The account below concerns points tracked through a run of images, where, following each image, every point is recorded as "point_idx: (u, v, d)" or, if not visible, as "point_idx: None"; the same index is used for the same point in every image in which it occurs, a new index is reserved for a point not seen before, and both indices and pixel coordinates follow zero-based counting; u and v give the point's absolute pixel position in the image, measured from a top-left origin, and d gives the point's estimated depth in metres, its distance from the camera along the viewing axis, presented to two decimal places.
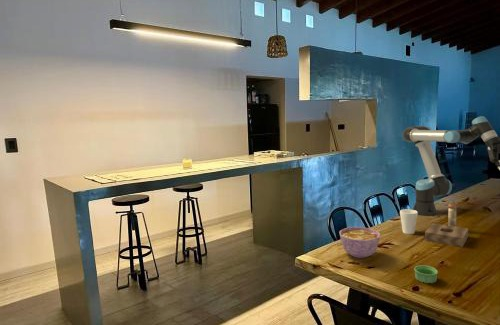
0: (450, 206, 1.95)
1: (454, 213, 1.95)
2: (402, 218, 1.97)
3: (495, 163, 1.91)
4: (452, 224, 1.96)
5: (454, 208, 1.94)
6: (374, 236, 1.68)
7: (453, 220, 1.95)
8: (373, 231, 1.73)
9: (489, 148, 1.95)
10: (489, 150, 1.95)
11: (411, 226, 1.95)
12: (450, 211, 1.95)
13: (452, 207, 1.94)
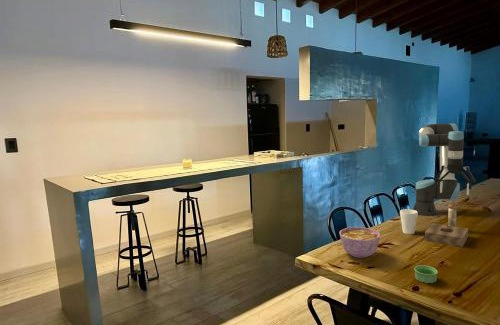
0: (450, 206, 1.95)
1: (454, 213, 1.95)
2: (402, 218, 1.97)
3: None
4: (452, 224, 1.96)
5: (454, 208, 1.94)
6: (374, 236, 1.68)
7: (453, 220, 1.95)
8: (373, 231, 1.73)
9: (441, 167, 1.97)
10: (441, 169, 1.98)
11: (411, 226, 1.95)
12: (450, 211, 1.95)
13: (452, 207, 1.94)
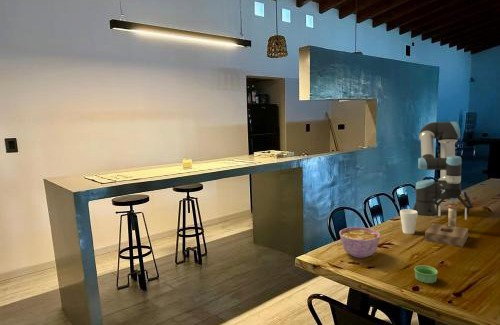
0: (450, 206, 1.95)
1: (454, 213, 1.95)
2: (402, 218, 1.97)
3: None
4: (452, 224, 1.96)
5: (454, 208, 1.94)
6: (374, 236, 1.68)
7: (453, 220, 1.95)
8: (373, 231, 1.73)
9: None
10: (439, 193, 2.00)
11: (411, 226, 1.95)
12: (450, 211, 1.95)
13: (452, 207, 1.94)
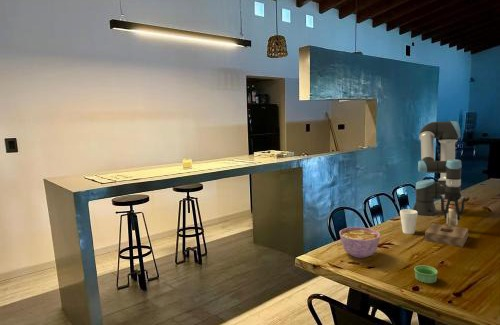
0: (450, 206, 1.95)
1: (454, 213, 1.95)
2: (402, 218, 1.97)
3: (445, 213, 2.00)
4: (452, 224, 1.96)
5: (454, 208, 1.94)
6: (374, 236, 1.68)
7: (453, 220, 1.95)
8: (373, 231, 1.73)
9: None
10: None
11: (411, 226, 1.95)
12: (450, 211, 1.95)
13: (452, 207, 1.94)
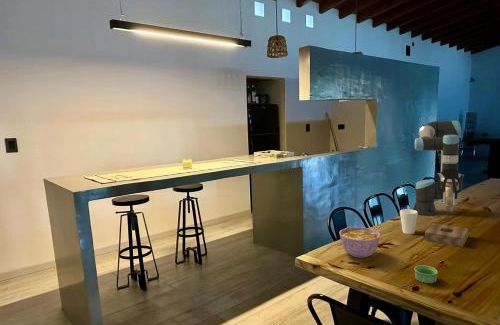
0: (447, 184, 1.84)
1: (451, 192, 1.83)
2: (402, 218, 1.97)
3: None
4: (449, 203, 1.84)
5: (451, 186, 1.83)
6: (374, 236, 1.68)
7: (450, 199, 1.84)
8: (373, 231, 1.73)
9: None
10: None
11: (411, 226, 1.95)
12: (447, 190, 1.84)
13: (449, 185, 1.83)
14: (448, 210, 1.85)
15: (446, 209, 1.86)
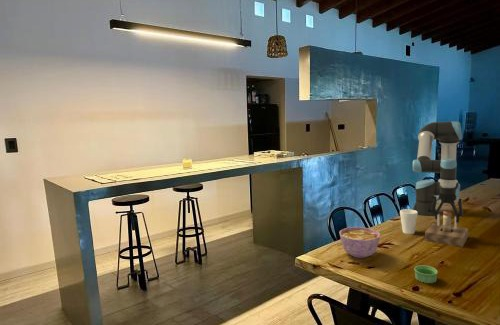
0: (445, 213, 1.83)
1: (449, 220, 1.82)
2: (402, 218, 1.97)
3: None
4: None
5: (449, 215, 1.82)
6: (374, 236, 1.68)
7: (448, 228, 1.83)
8: (373, 231, 1.73)
9: None
10: (434, 199, 1.87)
11: (411, 226, 1.95)
12: (445, 218, 1.83)
13: (446, 214, 1.82)
14: None
15: None
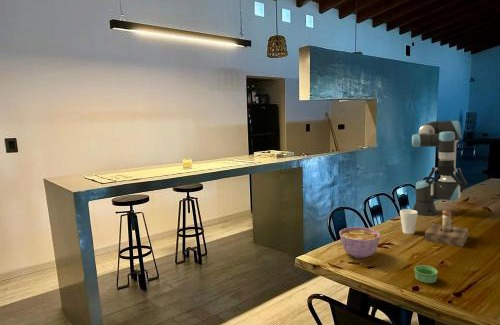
0: (444, 213, 1.83)
1: (448, 220, 1.83)
2: (402, 218, 1.97)
3: (429, 185, 1.92)
4: None
5: (448, 215, 1.82)
6: (374, 236, 1.68)
7: (447, 228, 1.83)
8: (373, 231, 1.73)
9: None
10: (431, 171, 1.90)
11: (411, 226, 1.95)
12: (444, 218, 1.83)
13: (446, 214, 1.82)
14: None
15: None
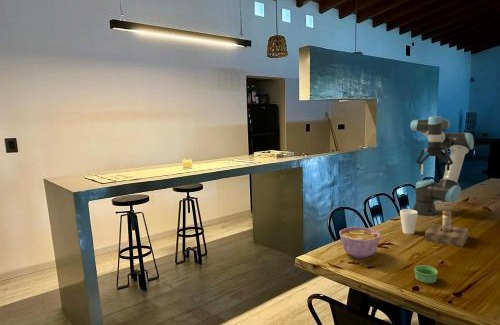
0: (444, 213, 1.83)
1: (448, 220, 1.83)
2: (402, 218, 1.97)
3: None
4: None
5: (448, 215, 1.82)
6: (374, 236, 1.68)
7: (447, 228, 1.83)
8: (373, 231, 1.73)
9: None
10: (422, 152, 2.11)
11: (411, 226, 1.95)
12: (444, 218, 1.83)
13: (446, 214, 1.82)
14: None
15: None
